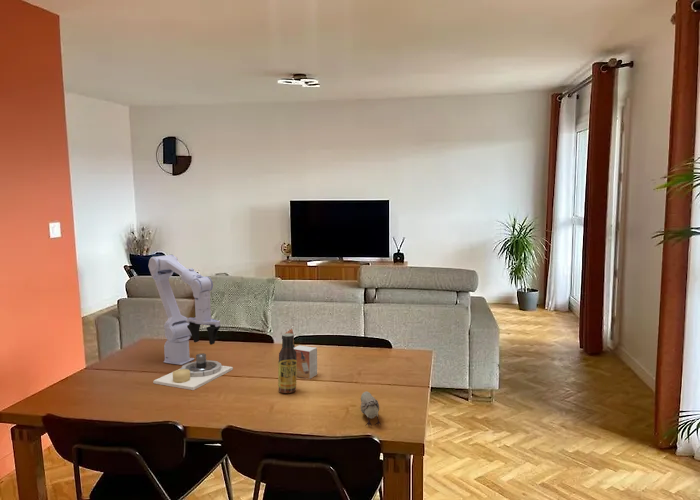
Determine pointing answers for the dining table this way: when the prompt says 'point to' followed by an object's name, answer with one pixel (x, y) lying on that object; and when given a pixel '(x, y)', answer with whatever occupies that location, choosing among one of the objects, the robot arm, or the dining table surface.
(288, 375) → the sauce bottle
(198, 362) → the gear
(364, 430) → the dining table surface
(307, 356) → the small box
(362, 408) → the decorative bird
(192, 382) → the carrier plate
